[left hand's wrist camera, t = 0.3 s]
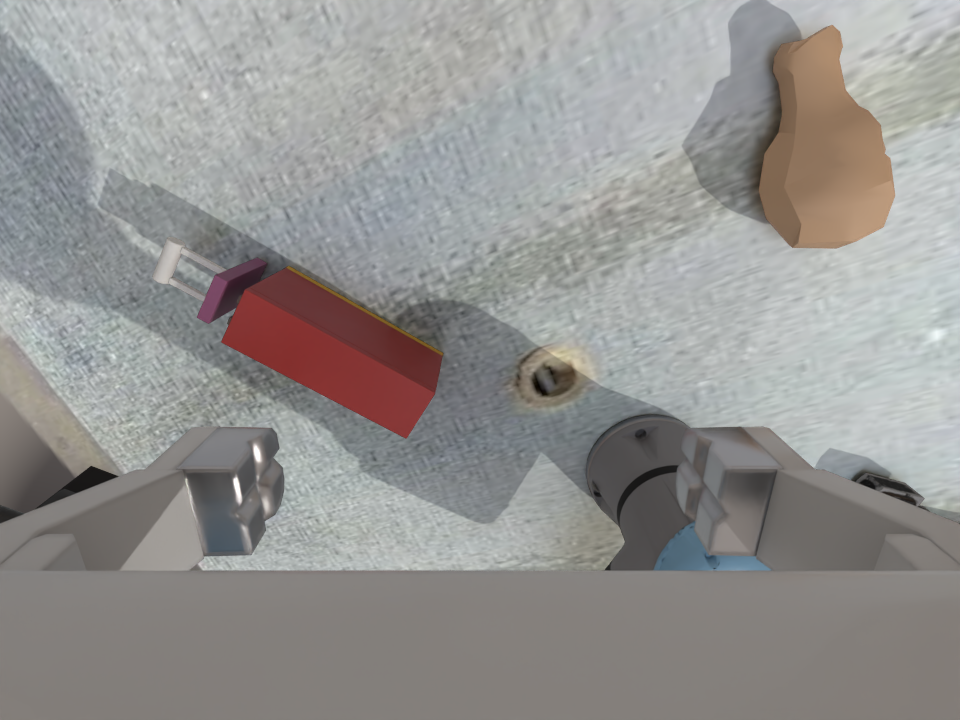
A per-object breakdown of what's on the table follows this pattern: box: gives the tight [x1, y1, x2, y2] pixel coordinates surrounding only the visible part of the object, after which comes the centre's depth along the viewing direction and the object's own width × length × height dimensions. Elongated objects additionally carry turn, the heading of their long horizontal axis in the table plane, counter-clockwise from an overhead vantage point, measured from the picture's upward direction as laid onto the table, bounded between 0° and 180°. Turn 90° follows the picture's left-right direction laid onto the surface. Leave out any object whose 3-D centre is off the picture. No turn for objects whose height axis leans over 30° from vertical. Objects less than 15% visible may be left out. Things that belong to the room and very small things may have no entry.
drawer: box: [152, 237, 267, 325], centre depth 53 cm, size 25×5×10 cm, turn 59°
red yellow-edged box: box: [221, 266, 443, 438], centre depth 54 cm, size 20×6×11 cm, turn 59°
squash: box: [759, 25, 895, 248], centre depth 48 cm, size 11×20×9 cm, turn 19°
